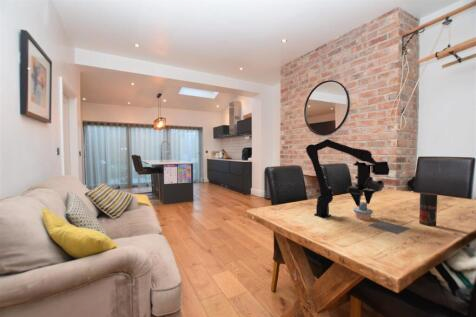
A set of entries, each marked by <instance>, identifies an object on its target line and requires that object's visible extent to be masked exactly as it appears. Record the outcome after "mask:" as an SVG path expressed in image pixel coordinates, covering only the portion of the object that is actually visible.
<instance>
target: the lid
mask: <svg viewBox="0 0 476 317" xmlns="http://www.w3.org/2000/svg"><path fill="white" fill-rule="evenodd" d="M353 212H354V213H355V212H357V213H361V214H371V215H372V214H373V213H374V210H372V209H371V208H368V204H367V203H366V201H360V206H359V207H358V206H356V207H353Z"/></svg>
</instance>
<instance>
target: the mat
mask: <svg viewBox="0 0 476 317" xmlns="http://www.w3.org/2000/svg"><path fill="white" fill-rule="evenodd" d="M367 226H369V227H372V228H375V229H379V230H382V231H386V232H389V233H392V234H396V235H399V234H401V233H404V232H405V231H408V230H410V229H411V227H407V226H403V225H399V224H395V223H391V222H387V221H384V220H378V221H376V222H372V223H370V224H368V225H367Z"/></svg>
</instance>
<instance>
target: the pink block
mask: <svg viewBox="0 0 476 317" xmlns="http://www.w3.org/2000/svg"><path fill="white" fill-rule="evenodd" d="M354 217H355V219H358V220H362V221H370V220H372V214H361V213H357V212H354Z"/></svg>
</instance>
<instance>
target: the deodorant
mask: <svg viewBox="0 0 476 317" xmlns="http://www.w3.org/2000/svg"><path fill="white" fill-rule="evenodd" d="M437 213H438V194H437V193H434V192H433V193H432V192H420V193H419V217H418V218H419V219H418V222H419V224H420V225H422V226H427V227H437V218H438V217H437Z"/></svg>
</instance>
